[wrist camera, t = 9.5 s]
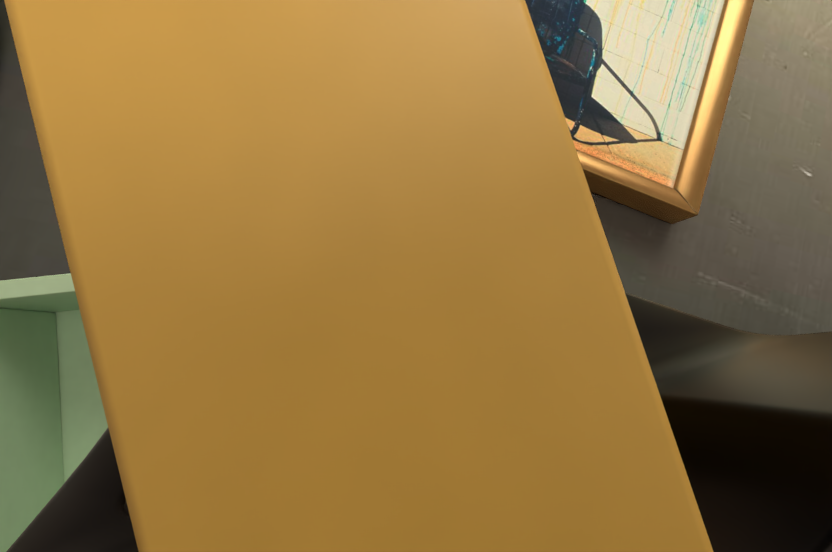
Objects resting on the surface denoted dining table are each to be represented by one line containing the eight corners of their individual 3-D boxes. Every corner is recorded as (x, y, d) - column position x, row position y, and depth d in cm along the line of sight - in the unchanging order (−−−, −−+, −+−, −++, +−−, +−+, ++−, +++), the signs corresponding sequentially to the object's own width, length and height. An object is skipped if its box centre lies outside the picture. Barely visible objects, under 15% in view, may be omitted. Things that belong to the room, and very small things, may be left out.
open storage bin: (331, 516, 21) (324, 579, 16) (61, 565, 20) (-52, 655, 14) (305, 272, 22) (290, 250, 17) (48, 300, 21) (-61, 286, 15)
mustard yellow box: (418, 391, 15) (755, 652, 3) (331, 420, 15) (215, 906, 2) (375, 246, 16) (478, -155, 3) (288, 269, 15) (-25, -80, 3)
